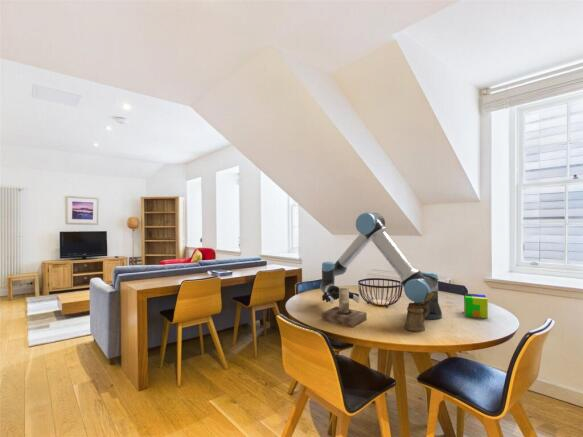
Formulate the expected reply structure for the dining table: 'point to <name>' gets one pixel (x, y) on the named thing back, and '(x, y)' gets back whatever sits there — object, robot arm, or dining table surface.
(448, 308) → the dining table surface
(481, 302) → the puzzle toy
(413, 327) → the wooden mug
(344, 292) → the birch peg
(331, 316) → the walnut board
